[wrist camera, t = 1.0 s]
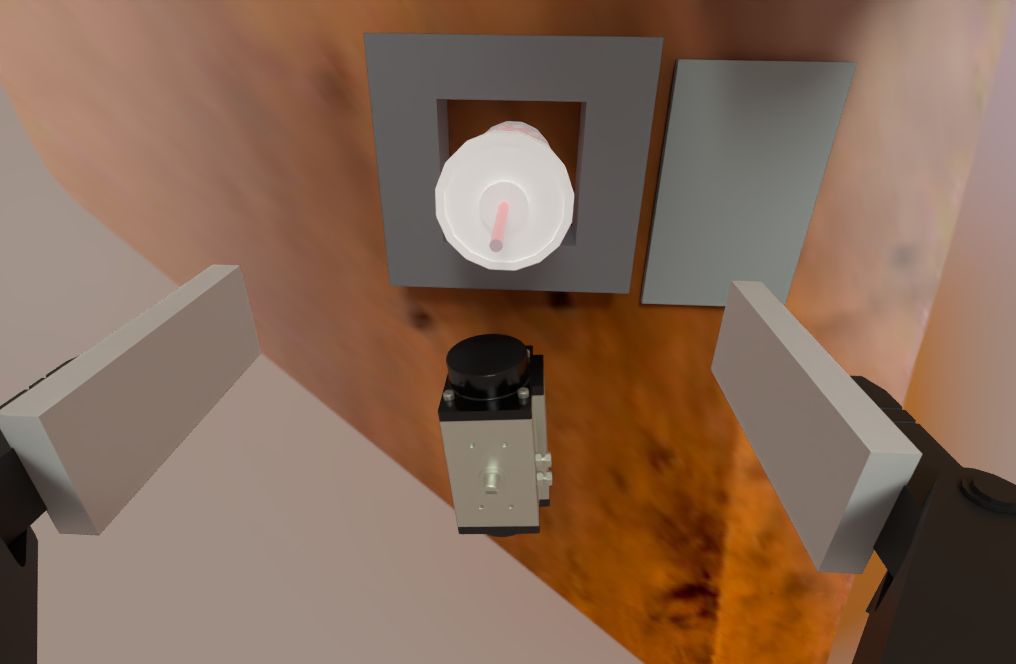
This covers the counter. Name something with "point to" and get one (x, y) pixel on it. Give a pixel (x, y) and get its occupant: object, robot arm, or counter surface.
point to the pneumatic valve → (496, 435)
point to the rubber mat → (740, 175)
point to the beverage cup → (505, 198)
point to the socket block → (521, 77)
